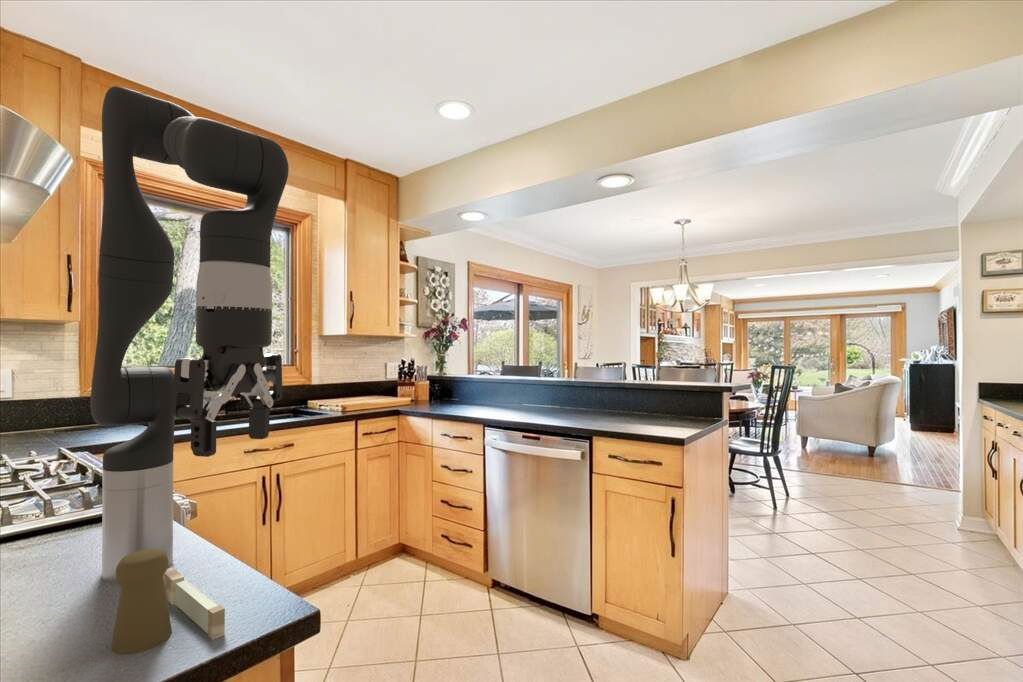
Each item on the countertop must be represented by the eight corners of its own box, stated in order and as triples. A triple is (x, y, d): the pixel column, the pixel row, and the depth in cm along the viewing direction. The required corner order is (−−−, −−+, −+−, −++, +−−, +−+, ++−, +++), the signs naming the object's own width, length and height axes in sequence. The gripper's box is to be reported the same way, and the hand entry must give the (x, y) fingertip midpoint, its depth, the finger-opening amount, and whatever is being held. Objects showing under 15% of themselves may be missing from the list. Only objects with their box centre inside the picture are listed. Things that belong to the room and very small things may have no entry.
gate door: (175, 604, 67) (175, 583, 67) (185, 601, 68) (185, 580, 68) (207, 633, 60) (207, 610, 60) (218, 629, 61) (218, 605, 61)
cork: (163, 622, 64) (164, 538, 64) (179, 640, 60) (179, 551, 60) (104, 644, 59) (105, 554, 59) (117, 665, 55) (118, 568, 55)
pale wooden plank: (160, 594, 70) (161, 570, 71) (172, 590, 72) (172, 567, 72) (212, 641, 59) (212, 613, 59) (224, 636, 60) (224, 608, 60)
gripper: (249, 308, 63) (247, 432, 63) (151, 300, 48) (149, 460, 49) (302, 309, 61) (300, 435, 62) (217, 301, 47) (215, 465, 48)
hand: (233, 446), depth 55 cm, fingers open, 8 cm apart
